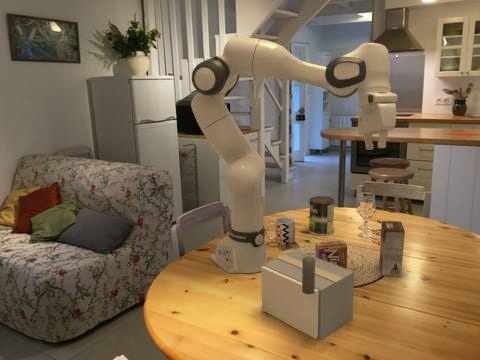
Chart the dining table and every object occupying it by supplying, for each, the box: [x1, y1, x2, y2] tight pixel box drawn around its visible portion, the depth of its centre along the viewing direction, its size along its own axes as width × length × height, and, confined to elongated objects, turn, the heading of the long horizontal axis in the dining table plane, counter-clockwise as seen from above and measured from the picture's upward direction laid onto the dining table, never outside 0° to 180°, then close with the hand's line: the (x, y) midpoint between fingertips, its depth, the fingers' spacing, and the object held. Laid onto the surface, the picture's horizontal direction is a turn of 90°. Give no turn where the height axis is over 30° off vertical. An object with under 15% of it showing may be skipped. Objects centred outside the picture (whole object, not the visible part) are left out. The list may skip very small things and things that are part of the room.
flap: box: [260, 256, 319, 340], centre depth 109 cm, size 19×3×21 cm, turn 42°
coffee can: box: [308, 195, 335, 236], centre depth 177 cm, size 10×10×14 cm
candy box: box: [315, 240, 348, 269], centre depth 129 cm, size 9×4×15 cm, turn 96°
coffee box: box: [379, 220, 406, 277], centre depth 140 cm, size 9×6×16 cm
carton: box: [263, 250, 355, 342], centre depth 116 cm, size 20×14×14 cm
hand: (375, 148), depth 121 cm, fingers open, 8 cm apart
